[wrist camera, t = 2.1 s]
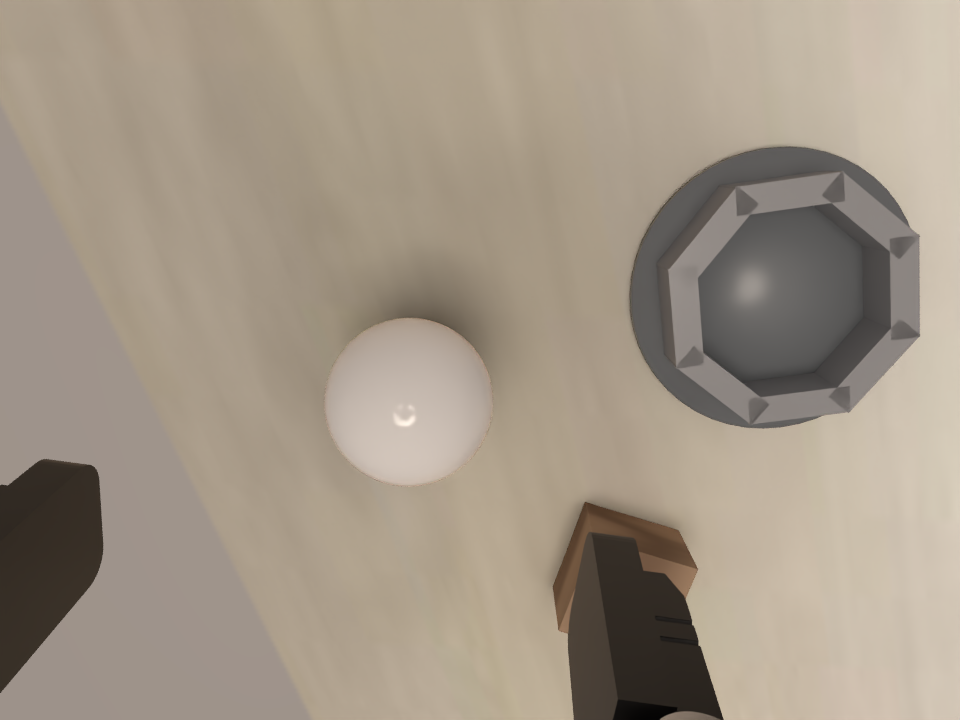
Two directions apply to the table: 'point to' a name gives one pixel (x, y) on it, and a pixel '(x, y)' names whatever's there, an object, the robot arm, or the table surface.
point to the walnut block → (655, 547)
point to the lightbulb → (408, 402)
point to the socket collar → (776, 288)
